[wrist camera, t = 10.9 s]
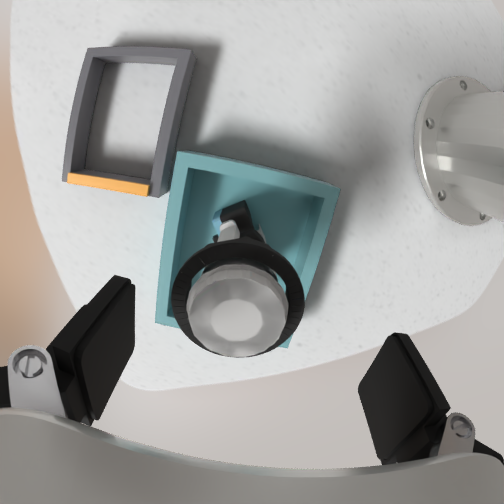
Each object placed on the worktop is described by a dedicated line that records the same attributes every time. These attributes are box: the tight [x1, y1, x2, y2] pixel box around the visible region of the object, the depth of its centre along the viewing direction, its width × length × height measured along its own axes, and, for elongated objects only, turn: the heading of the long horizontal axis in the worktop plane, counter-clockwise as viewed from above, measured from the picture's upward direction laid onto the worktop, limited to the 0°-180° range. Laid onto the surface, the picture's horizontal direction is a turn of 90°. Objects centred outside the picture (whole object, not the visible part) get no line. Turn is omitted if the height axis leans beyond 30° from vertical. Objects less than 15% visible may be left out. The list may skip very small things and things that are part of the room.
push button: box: [171, 200, 305, 358], centre depth 15 cm, size 7×5×10 cm
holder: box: [62, 46, 197, 198], centre depth 16 cm, size 8×10×2 cm
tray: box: [155, 150, 341, 348], centre depth 19 cm, size 10×12×3 cm
